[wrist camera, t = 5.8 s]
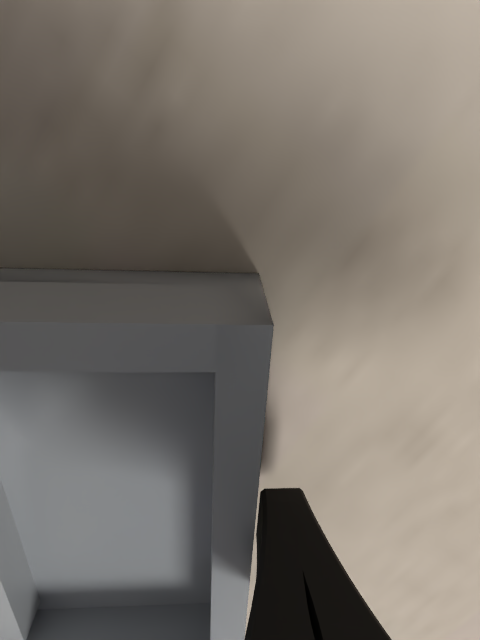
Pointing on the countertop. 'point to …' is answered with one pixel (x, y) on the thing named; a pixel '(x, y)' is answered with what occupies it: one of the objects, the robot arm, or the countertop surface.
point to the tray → (129, 452)
